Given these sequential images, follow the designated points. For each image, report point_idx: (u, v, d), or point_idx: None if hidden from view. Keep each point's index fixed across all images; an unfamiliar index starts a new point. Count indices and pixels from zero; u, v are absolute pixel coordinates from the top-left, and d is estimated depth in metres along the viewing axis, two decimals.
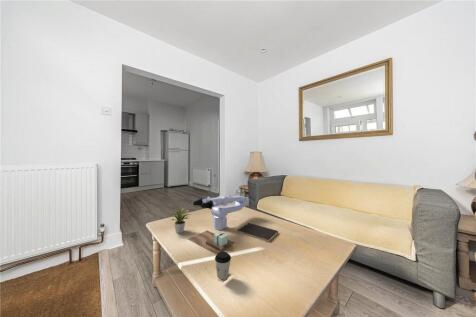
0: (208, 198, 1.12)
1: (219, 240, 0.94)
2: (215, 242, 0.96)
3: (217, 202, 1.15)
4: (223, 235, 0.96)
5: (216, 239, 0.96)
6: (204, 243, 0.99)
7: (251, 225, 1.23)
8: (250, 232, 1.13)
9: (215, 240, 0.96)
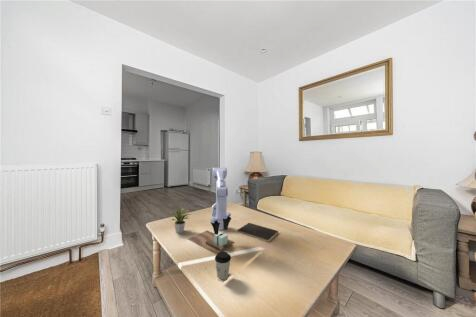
0: None
1: (219, 240, 0.94)
2: (215, 242, 0.96)
3: (226, 206, 0.97)
4: (223, 235, 0.96)
5: (216, 239, 0.96)
6: (204, 243, 0.99)
7: (251, 225, 1.23)
8: (250, 232, 1.13)
9: (215, 240, 0.96)
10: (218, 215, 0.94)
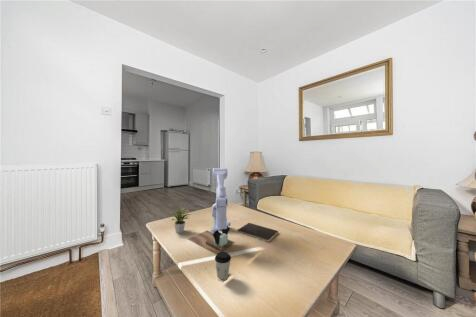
0: None
1: (219, 240, 0.94)
2: None
3: None
4: (223, 235, 0.96)
5: None
6: (204, 243, 0.99)
7: (251, 225, 1.23)
8: (250, 232, 1.13)
9: None
10: (218, 225, 0.94)
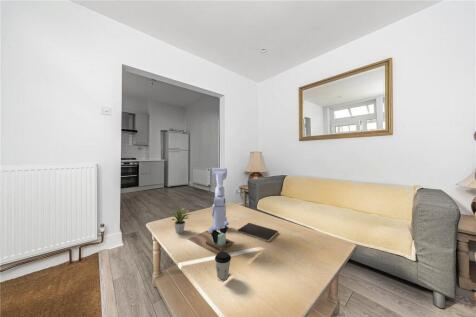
0: None
1: None
2: (213, 241, 0.97)
3: (224, 215, 0.98)
4: (221, 234, 0.97)
5: None
6: (204, 243, 0.99)
7: (251, 225, 1.23)
8: (250, 232, 1.13)
9: None
10: (216, 224, 0.95)
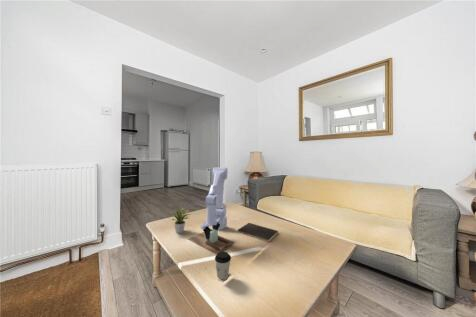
0: None
1: None
2: None
3: (216, 213, 1.01)
4: (213, 231, 1.01)
5: None
6: (204, 243, 0.99)
7: (251, 225, 1.23)
8: (250, 232, 1.12)
9: None
10: (208, 221, 0.99)
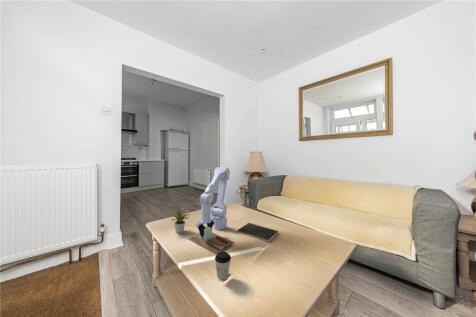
0: None
1: (204, 233, 1.02)
2: None
3: (209, 211, 1.03)
4: (208, 228, 1.04)
5: None
6: (204, 243, 0.99)
7: (251, 225, 1.23)
8: (250, 232, 1.12)
9: None
10: (202, 219, 1.02)
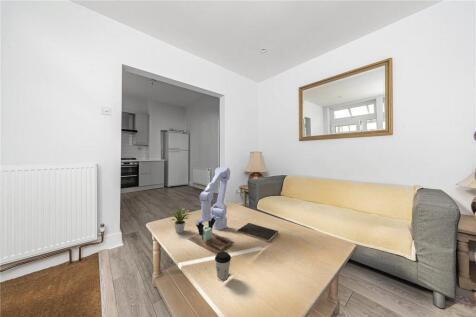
0: None
1: (204, 233, 1.02)
2: (200, 235, 1.04)
3: (209, 209, 1.03)
4: (208, 229, 1.04)
5: None
6: (204, 243, 0.99)
7: (251, 225, 1.23)
8: (250, 232, 1.12)
9: None
10: (202, 217, 1.02)
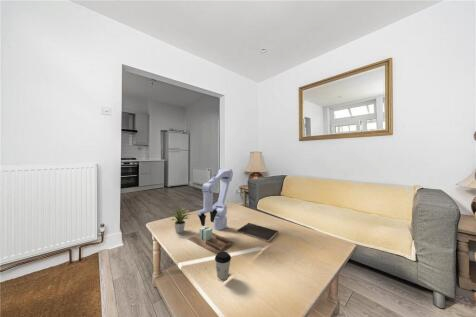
0: None
1: (204, 233, 1.02)
2: (200, 235, 1.04)
3: (211, 201, 1.05)
4: (208, 229, 1.04)
5: (201, 233, 1.04)
6: (204, 243, 0.99)
7: (251, 225, 1.23)
8: (250, 232, 1.12)
9: (200, 233, 1.04)
10: (205, 208, 1.04)
